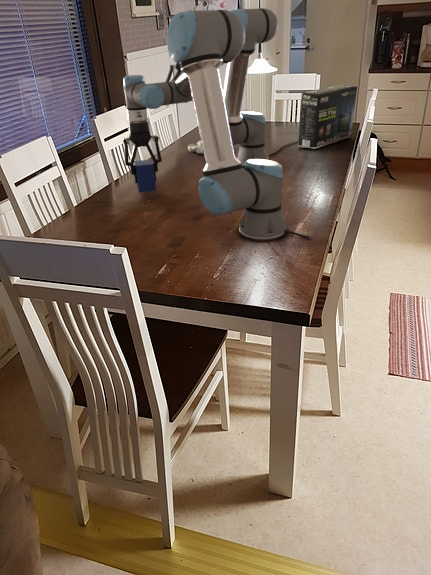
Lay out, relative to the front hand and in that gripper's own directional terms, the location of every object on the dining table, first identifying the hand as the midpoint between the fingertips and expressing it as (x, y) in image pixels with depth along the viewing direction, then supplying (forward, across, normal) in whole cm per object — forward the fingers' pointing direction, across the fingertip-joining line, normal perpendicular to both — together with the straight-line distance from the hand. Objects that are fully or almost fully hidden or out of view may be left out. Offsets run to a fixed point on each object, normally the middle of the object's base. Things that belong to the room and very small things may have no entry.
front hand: (145, 181), depth 182 cm
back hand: (-20, +30, +55) cm, 66 cm away
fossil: (+6, +38, +55) cm, 67 cm away
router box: (+6, +102, +46) cm, 112 cm away
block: (+3, 0, 0) cm, 3 cm away
